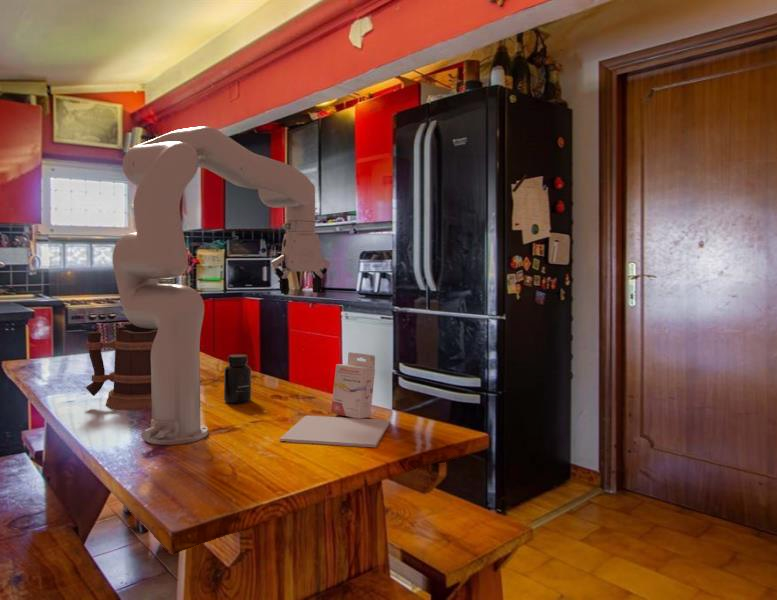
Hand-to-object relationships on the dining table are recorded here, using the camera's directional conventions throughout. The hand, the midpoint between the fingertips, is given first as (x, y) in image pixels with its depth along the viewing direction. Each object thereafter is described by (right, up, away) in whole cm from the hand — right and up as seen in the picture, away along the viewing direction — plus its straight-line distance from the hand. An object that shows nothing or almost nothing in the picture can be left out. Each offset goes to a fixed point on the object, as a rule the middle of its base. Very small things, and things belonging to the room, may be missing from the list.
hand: (300, 293), depth 157 cm
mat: (+12, -30, -30) cm, 44 cm away
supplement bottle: (-16, -28, -4) cm, 33 cm away
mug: (-41, -28, -6) cm, 51 cm away
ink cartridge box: (+14, -29, -18) cm, 37 cm away
